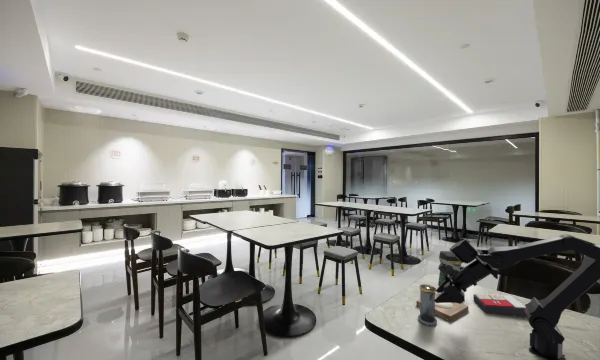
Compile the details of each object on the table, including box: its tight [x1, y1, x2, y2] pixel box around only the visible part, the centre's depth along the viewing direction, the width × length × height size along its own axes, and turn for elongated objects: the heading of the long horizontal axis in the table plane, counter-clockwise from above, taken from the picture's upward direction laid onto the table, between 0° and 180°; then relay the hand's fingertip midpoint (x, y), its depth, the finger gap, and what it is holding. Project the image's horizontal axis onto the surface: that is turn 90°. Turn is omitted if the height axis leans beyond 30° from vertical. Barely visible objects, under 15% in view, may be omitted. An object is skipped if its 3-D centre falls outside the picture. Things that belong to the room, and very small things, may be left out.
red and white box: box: [473, 293, 526, 318], centre depth 106 cm, size 11×4×15 cm
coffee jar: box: [437, 250, 463, 290], centre depth 124 cm, size 10×8×19 cm
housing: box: [417, 283, 438, 327], centre depth 96 cm, size 6×6×13 cm
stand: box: [415, 292, 469, 322], centre depth 106 cm, size 14×14×2 cm
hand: (436, 296), depth 95 cm, fingers open, 9 cm apart
